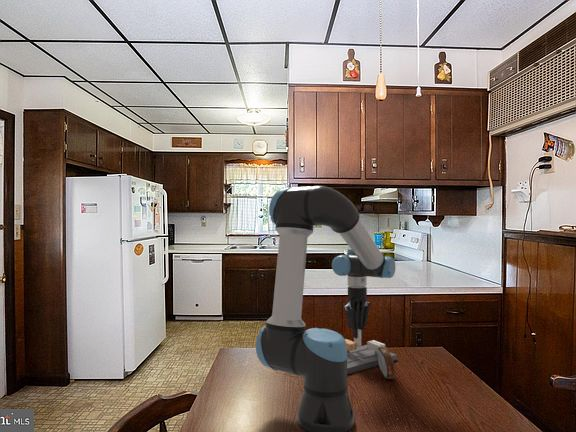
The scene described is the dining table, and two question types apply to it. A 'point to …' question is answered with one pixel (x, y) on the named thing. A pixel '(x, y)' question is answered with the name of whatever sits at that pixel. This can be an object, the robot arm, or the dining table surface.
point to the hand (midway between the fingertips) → (357, 345)
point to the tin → (386, 363)
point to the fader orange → (350, 345)
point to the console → (363, 359)
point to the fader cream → (374, 345)
